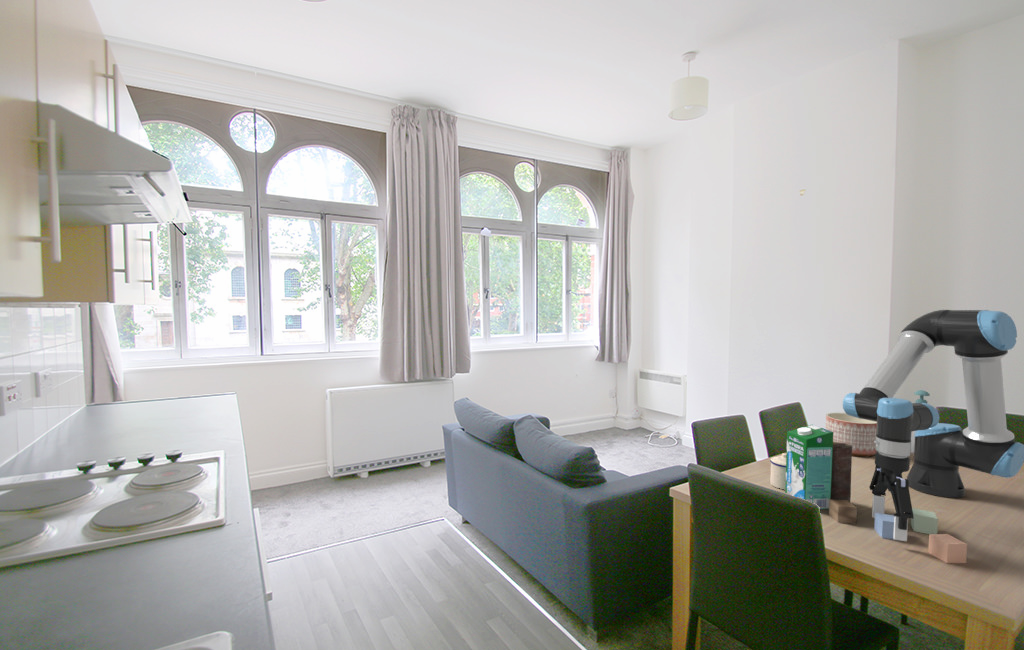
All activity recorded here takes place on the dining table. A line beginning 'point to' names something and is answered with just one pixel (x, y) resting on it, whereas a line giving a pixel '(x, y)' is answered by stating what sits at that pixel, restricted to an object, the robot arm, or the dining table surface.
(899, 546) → the dining table surface
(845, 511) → the walnut cube
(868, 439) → the planter
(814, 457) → the milk carton
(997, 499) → the dining table surface
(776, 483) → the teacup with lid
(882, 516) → the slate blue cube
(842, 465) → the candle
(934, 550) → the terracotta cube
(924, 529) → the sage cube
